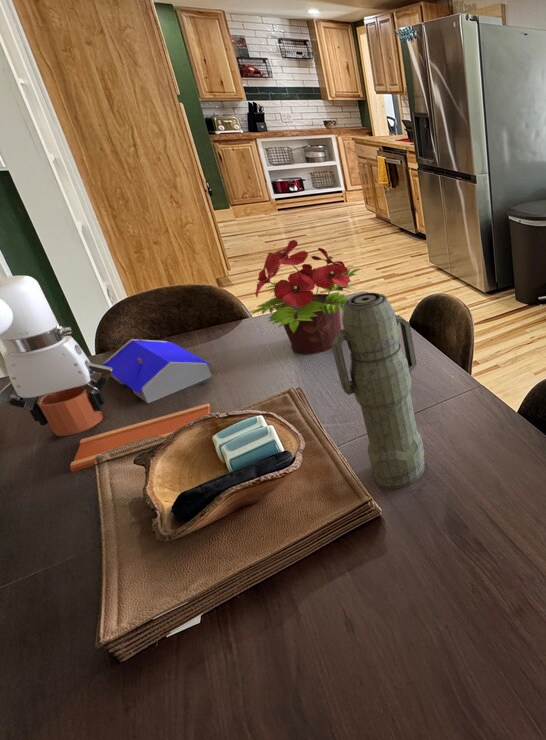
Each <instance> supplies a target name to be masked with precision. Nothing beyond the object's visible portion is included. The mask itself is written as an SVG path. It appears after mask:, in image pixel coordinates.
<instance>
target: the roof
mask: <svg viewBox="0 0 546 740" xmlns="http://www.w3.org/2000/svg"><path fill="white" fill-rule="evenodd" d="M209 365H212V364H211V363H210V362H207V361H206V360H204V359H202V358H201V357H199V356H197V355H195V354H194V353H192V352H190V351H188V350H186V349H184V348H182V347H181V346H180V345H177V344H176V343H173V342H172V341H167V340H155V339H152V340H151V339H143V338H136V339H135V338H131V339H129V340H128V341H127V342H126V343H125V344H124V345H122V346H121V347H120V348H118V350H117V351H116V352H114V353H113V354H111V356H110V357H109V358H107V359H106V360H105V361H104V362H103V364H102V366H106V367H111V368H113V372H112V374H111V375H110V377H111V378H112V379H113V380H115V381H116V382H118V383H119V384H120V385H126V387H128V388H129V389H131V390H132V392H133V394H134V395H136V396H137V397H139V398H140V399H141V400H143V401H144V402H145V403H146V404H150V403H153V402H155V401H157V400H160V399H163V398H165V397H167V396H169V395H170V396H171V395H172V394H175V393H177V392H179V391H182V390H184V389H186V388H189V387H192V386H194V385H196V384H198V383H201V382H203V381H206V380H209V379H210V378H213V375H212V373H211V369H210V368H209V367H210V366H209Z"/></svg>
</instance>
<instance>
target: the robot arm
mask: <svg viewBox="0 0 546 740" xmlns="http://www.w3.org/2000/svg"><path fill="white" fill-rule="evenodd" d="M73 333H74V329H73V327H71V326H62V325H61V323H59V322H58V320H57V318H56V315H55V314H54V312H53V310H52V309H51V306H50V304H49V302H48V300H47V298H46V295H45V294H44V292H43V289H42V288H41V286H40V283H39V282H38V280H37V279H35V278H34V277H32V276H29V275H10V276H4V277H3V276H2V277H0V341H1V343H2V345H3V347H4V349H5V350H4V351H3V354H2V355H3V360H4V364H5V368H6V371H7V375H8V378H9V380H10V382H9V383H8V384H7V385H5V387H3V388H2V389H1V390H0V402H3V403H6V404H9V405H10V406H13V407H18V408H22V409H23V410H24V411H29V413H30V415H31V417H32V419H33V420H34V421H35V422H39V424H40V426H43V427H44V426H46V425H48V422H47V420H46V419H45V417H44V415H43V413H42V411H41V410H40V408H39V406H38V404H37V402H38V400H39V397H43V396H45V395H47V394H51V393H55V392H59V391H64V390H68V389H72V388H76V387H81V388H83V389H85V390H86V391H88V392H90V395H89V398H90V400H91V402H92V404H93V406H94V408H95V410H96V411H102V410H103V407H104V405H105V404H106V401H107V400H106V398H105V396H104V394H103V392H102V390H101V389H102V388H103V387H104V386H105V384H106V383H107V382H108V380H109V378H110V377H111V376H110V375H111V374H112V372H113V368H111V367H106V366H102V365H103V364H102V365H101V364H96V363H91V361H90V359H89V358H88V356H87V355H86V353H85V352H84V350H83V349H82V348H81V346H80V345H79V343H78V342H77V341H76V340H75V338H73V337H72V335H71V334H73ZM94 374H100V377H98V379H97V380H95V379H93V378H92V376H93V375H94ZM14 391H15V392H16V394H17V395H15V394H13V392H14Z"/></svg>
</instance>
